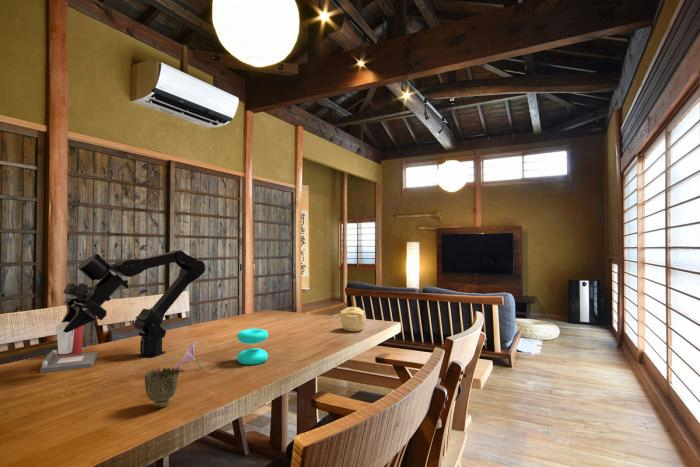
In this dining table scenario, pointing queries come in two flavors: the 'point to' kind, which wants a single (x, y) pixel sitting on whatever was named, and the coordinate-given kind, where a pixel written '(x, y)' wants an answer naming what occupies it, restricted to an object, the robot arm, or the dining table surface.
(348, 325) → the pale yellow rounded lump
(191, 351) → the lily
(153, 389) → the cup
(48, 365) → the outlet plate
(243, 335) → the donuts
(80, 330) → the beer can
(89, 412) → the dining table surface
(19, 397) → the dining table surface
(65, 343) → the milkshake
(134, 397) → the dining table surface
